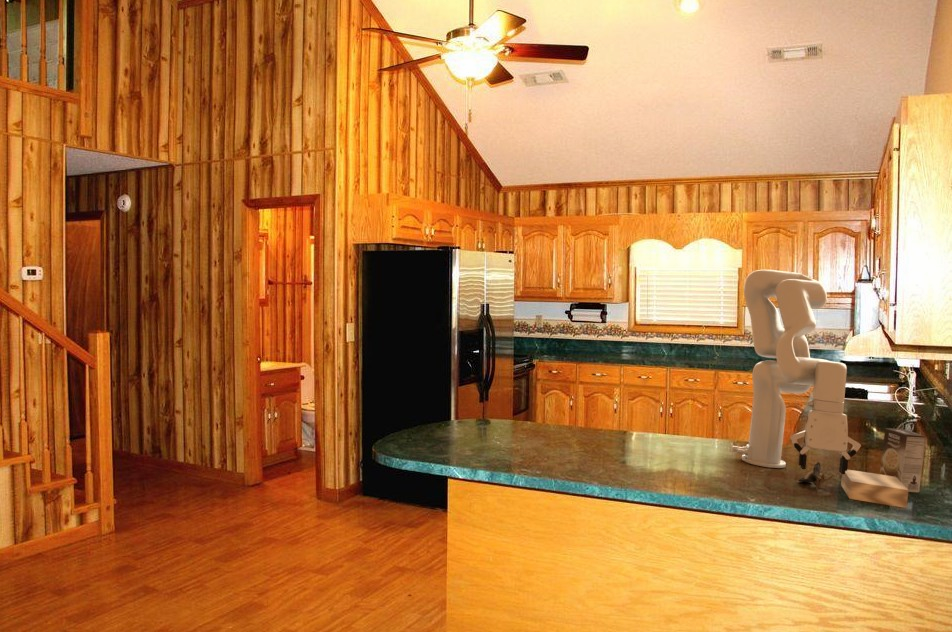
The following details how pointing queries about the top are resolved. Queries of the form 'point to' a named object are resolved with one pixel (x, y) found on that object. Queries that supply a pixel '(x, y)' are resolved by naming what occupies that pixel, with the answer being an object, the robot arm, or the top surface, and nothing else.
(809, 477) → the eagle figurine
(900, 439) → the coffee box
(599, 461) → the top surface
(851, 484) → the maple block
